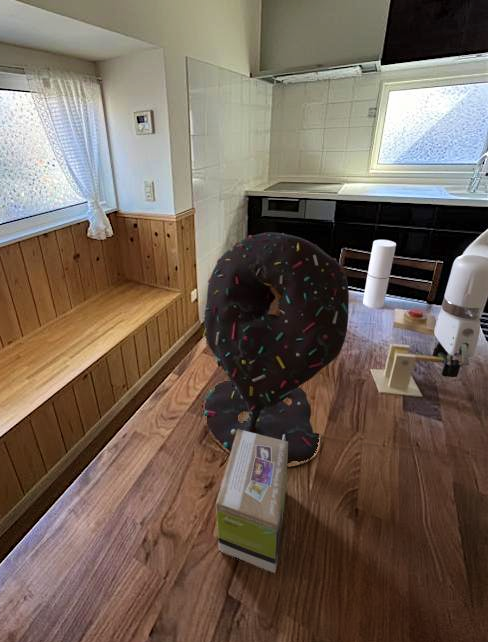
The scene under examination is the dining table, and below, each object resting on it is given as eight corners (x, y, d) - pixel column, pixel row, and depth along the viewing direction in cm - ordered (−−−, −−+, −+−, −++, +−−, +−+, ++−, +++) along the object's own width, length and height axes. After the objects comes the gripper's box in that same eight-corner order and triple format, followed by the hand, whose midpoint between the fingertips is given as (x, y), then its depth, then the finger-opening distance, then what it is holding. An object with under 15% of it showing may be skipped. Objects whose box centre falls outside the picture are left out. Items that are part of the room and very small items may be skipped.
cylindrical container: (365, 307, 128) (376, 246, 117) (360, 298, 134) (371, 239, 124) (385, 309, 126) (398, 246, 116) (380, 299, 132) (392, 239, 122)
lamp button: (421, 313, 115) (422, 309, 115) (422, 318, 113) (423, 314, 112) (409, 311, 117) (410, 307, 116) (409, 316, 114) (410, 312, 114)
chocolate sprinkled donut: (325, 491, 67) (357, 293, 49) (179, 439, 80) (162, 267, 62) (334, 389, 92) (358, 231, 73) (221, 361, 105) (217, 222, 86)
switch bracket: (408, 375, 94) (417, 341, 89) (421, 399, 86) (432, 363, 82) (369, 372, 97) (376, 338, 92) (378, 395, 89) (387, 359, 84)
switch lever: (442, 358, 88) (445, 350, 87) (451, 371, 83) (454, 363, 82) (391, 352, 90) (393, 345, 89) (397, 365, 86) (400, 357, 85)
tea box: (237, 475, 71) (237, 425, 65) (286, 491, 68) (291, 439, 62) (217, 554, 59) (214, 501, 52) (276, 578, 55) (280, 525, 49)
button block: (433, 320, 117) (436, 311, 116) (435, 336, 110) (438, 325, 108) (393, 313, 123) (395, 303, 121) (392, 327, 115) (395, 317, 114)
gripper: (503, 328, 70) (478, 394, 78) (461, 290, 85) (444, 348, 93) (462, 326, 72) (442, 390, 80) (428, 289, 87) (414, 346, 95)
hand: (443, 367), depth 86 cm, fingers closed on switch lever, 5 cm apart
